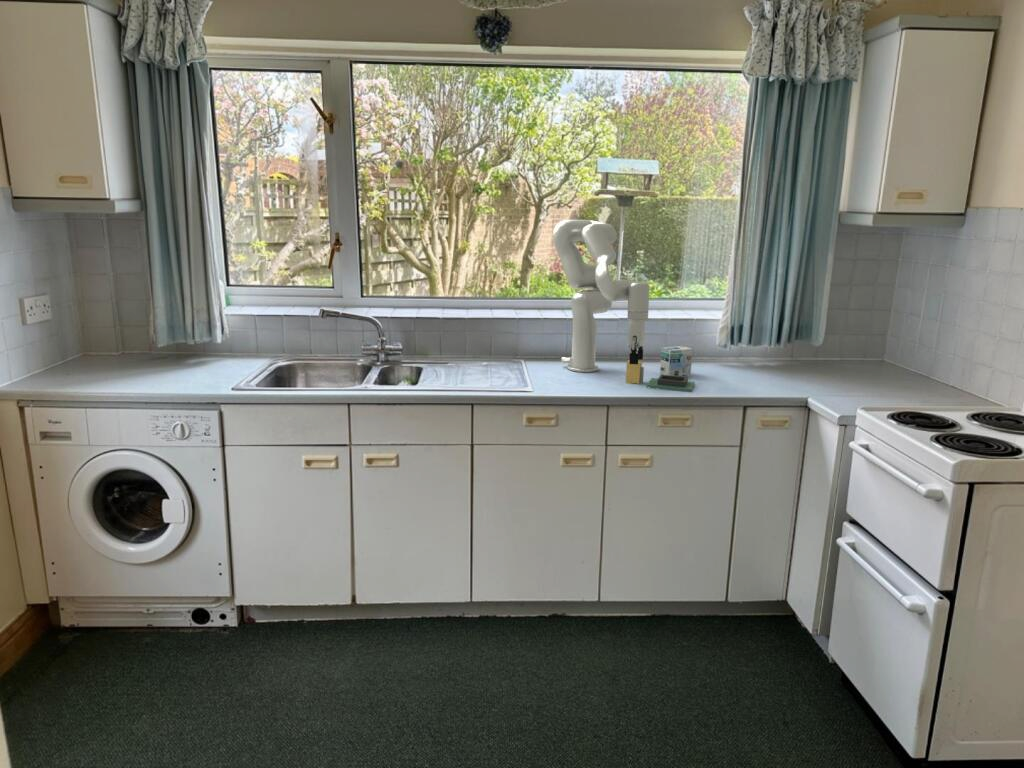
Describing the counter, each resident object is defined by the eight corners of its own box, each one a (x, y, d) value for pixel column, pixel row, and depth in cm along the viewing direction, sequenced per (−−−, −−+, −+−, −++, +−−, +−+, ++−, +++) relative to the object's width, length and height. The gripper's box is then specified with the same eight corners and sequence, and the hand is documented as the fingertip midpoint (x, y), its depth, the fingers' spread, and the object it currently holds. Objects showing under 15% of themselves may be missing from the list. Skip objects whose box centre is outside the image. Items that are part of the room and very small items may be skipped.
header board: (646, 387, 266) (647, 379, 266) (651, 380, 277) (652, 372, 277) (691, 392, 261) (691, 383, 260) (694, 384, 272) (695, 376, 271)
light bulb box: (668, 377, 283) (670, 350, 280) (658, 373, 289) (660, 346, 286) (691, 375, 287) (693, 348, 284) (681, 371, 293) (683, 345, 290)
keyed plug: (625, 382, 273) (626, 362, 271) (627, 380, 276) (628, 359, 274) (641, 384, 271) (643, 363, 269) (643, 382, 274) (644, 361, 272)
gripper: (631, 312, 277) (630, 357, 280) (623, 318, 261) (621, 365, 264) (651, 313, 274) (649, 358, 278) (644, 319, 258) (642, 366, 262)
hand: (636, 361), depth 271 cm, fingers open, 9 cm apart
